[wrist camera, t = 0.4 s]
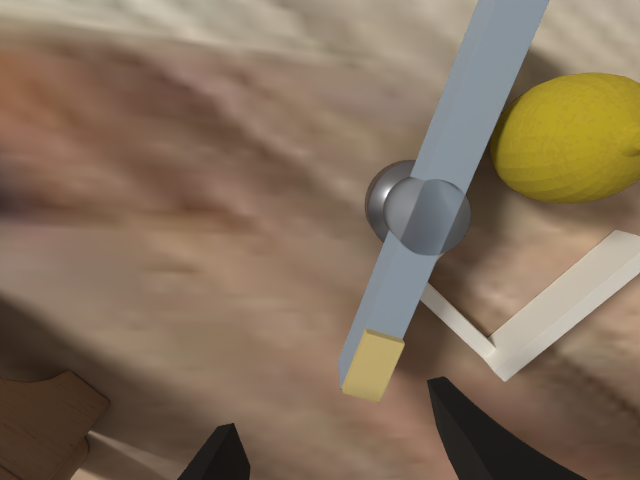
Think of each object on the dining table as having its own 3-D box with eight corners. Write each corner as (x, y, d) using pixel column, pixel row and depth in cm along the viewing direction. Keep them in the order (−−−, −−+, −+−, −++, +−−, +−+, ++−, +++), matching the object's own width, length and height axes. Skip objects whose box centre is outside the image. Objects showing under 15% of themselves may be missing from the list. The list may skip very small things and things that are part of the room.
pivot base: (467, 201, 20) (480, 206, 19) (405, 260, 21) (412, 270, 20) (409, 141, 19) (417, 140, 18) (347, 205, 20) (349, 210, 19)
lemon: (576, 162, 20) (743, 172, 12) (486, 208, 20) (589, 245, 13) (545, 70, 19) (708, 14, 11) (450, 122, 19) (540, 103, 11)
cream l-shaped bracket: (624, 240, 21) (664, 252, 19) (485, 357, 23) (504, 382, 21) (533, 134, 19) (564, 132, 17) (391, 269, 21) (400, 285, 19)
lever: (533, 19, 16) (581, -9, 13) (381, 373, 21) (392, 410, 18) (463, -9, 16) (496, -44, 13) (325, 357, 21) (326, 392, 18)
